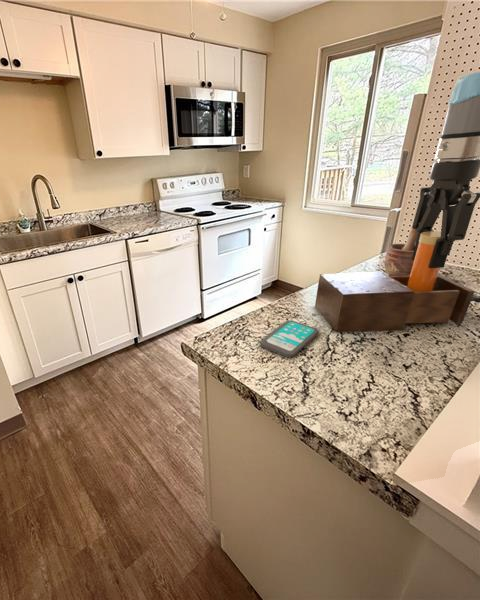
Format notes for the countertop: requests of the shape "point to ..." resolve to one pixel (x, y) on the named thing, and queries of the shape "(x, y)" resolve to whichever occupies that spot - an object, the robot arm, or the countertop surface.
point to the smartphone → (289, 338)
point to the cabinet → (363, 301)
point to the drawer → (439, 301)
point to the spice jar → (424, 263)
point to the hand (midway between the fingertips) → (426, 263)
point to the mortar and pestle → (401, 256)
